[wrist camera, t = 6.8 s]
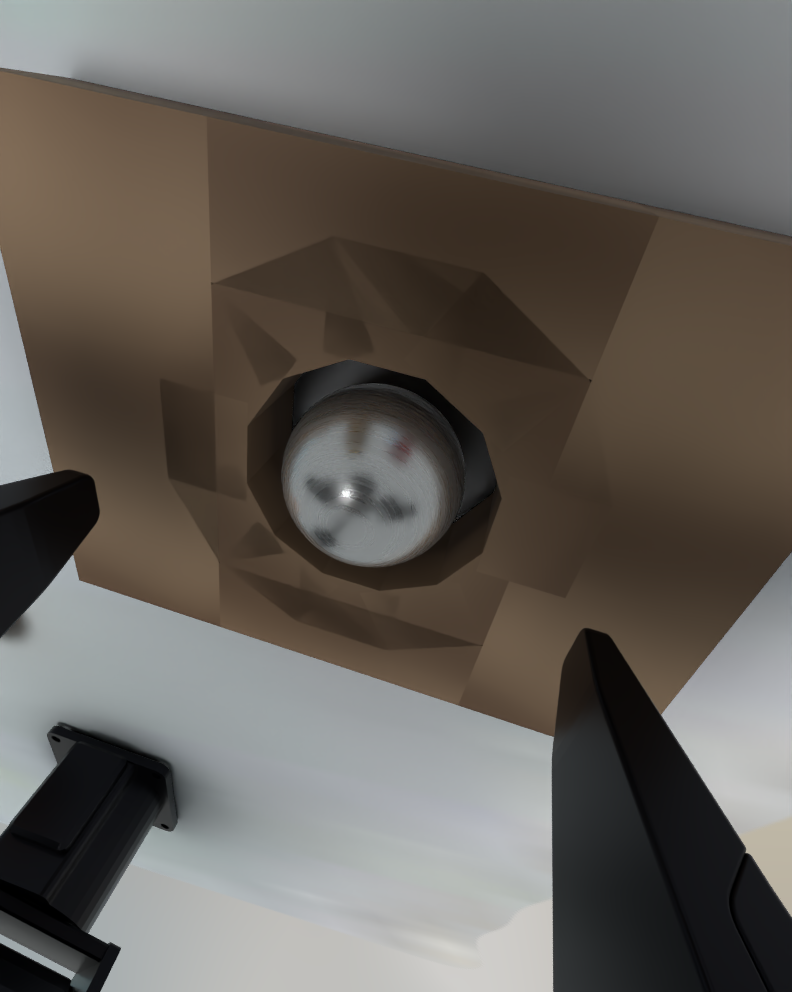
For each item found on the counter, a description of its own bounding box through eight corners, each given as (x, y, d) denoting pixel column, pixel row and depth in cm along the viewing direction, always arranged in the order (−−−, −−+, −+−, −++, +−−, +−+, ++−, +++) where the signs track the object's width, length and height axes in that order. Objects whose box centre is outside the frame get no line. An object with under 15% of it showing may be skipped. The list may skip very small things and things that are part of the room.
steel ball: (452, 519, 14) (426, 629, 11) (312, 480, 15) (246, 574, 11) (494, 382, 12) (477, 468, 9) (326, 339, 12) (250, 406, 9)
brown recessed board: (615, 682, 16) (624, 760, 14) (134, 530, 18) (79, 580, 16) (900, 261, 9) (999, 292, 7) (68, 77, 11) (-44, 61, 9)
